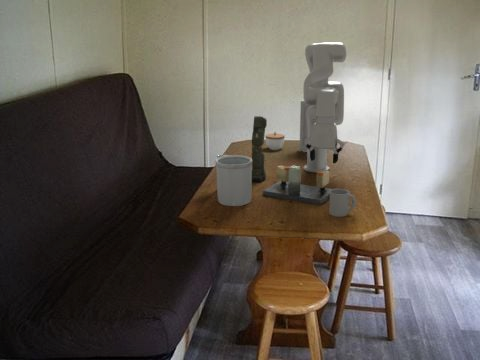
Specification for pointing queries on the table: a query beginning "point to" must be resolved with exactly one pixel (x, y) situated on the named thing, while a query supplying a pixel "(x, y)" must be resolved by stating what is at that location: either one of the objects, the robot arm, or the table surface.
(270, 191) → the level plate
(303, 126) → the white upright slab
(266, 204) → the table surface
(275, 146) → the lidded jar
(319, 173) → the knob
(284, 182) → the knob
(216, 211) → the table surface
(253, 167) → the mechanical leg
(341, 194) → the cup
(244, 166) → the utensil holder
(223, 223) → the table surface
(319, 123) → the robot arm
